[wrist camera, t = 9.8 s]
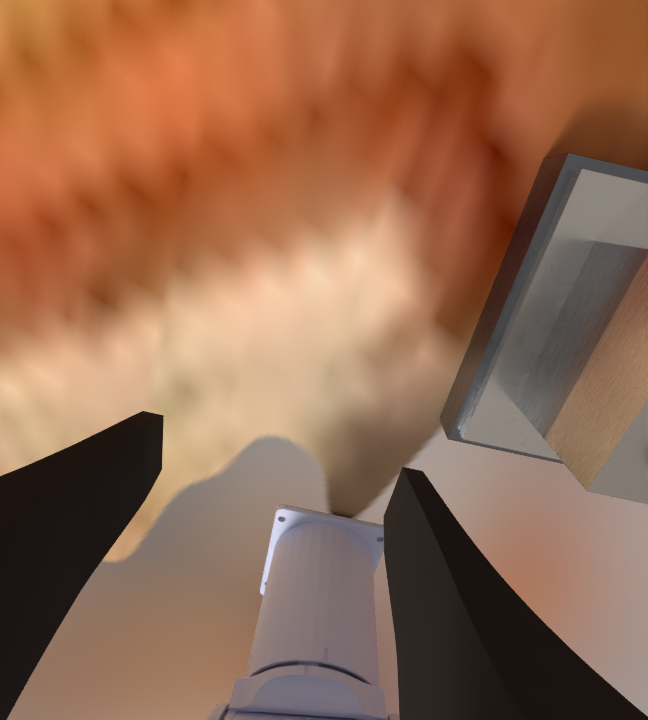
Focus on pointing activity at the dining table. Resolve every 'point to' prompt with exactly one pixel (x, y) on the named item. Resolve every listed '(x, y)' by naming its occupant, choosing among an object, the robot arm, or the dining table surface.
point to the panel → (539, 293)
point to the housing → (598, 376)
